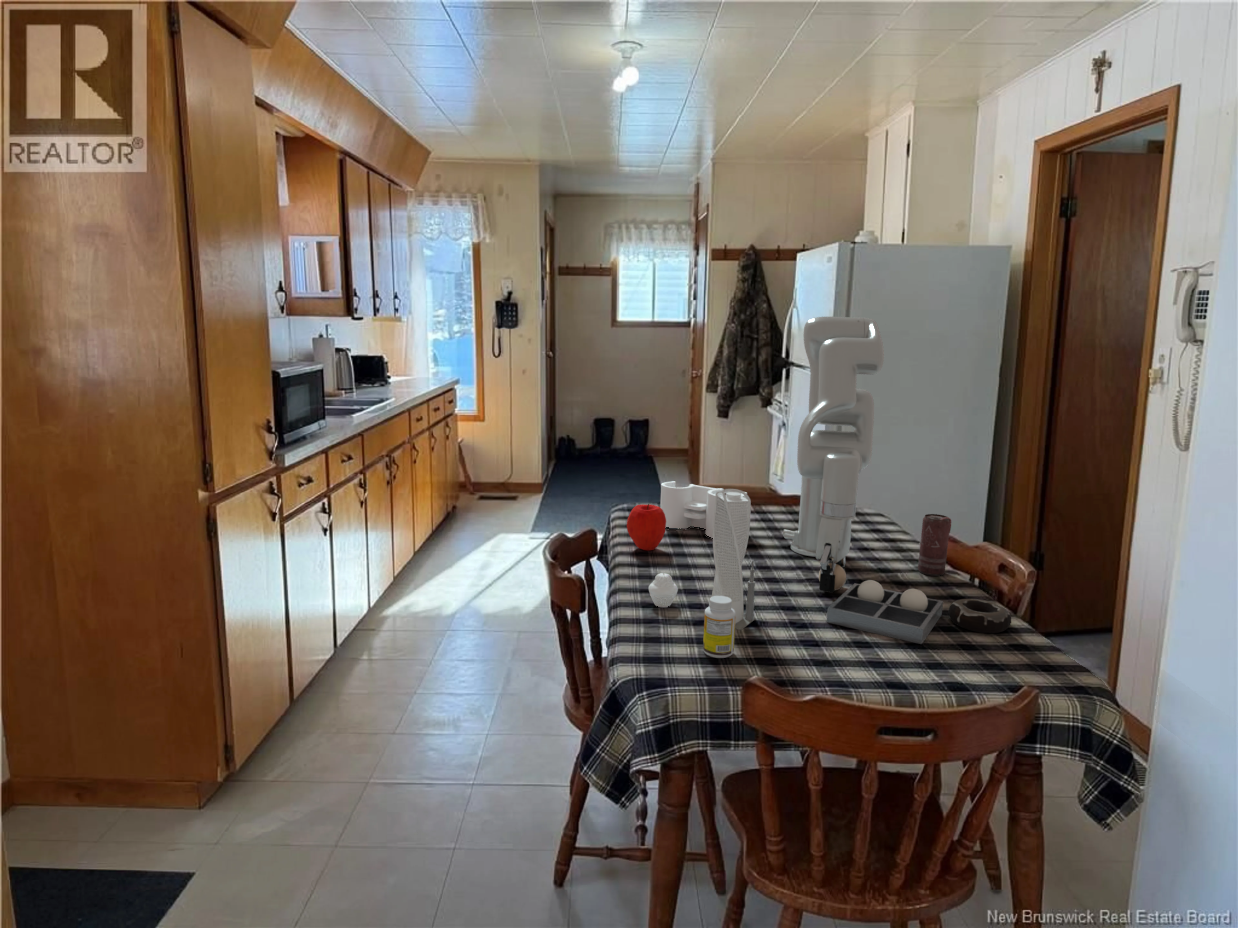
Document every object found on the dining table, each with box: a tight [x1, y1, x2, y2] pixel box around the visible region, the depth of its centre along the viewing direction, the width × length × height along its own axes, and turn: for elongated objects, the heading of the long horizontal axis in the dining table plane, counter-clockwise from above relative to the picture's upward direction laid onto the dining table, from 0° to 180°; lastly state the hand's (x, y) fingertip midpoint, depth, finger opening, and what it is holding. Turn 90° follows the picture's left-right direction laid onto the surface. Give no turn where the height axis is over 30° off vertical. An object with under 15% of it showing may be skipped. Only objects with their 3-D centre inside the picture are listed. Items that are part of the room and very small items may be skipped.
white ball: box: [900, 588, 928, 612], centre depth 166 cm, size 5×5×5 cm
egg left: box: [857, 579, 884, 602], centre depth 171 cm, size 5×5×5 cm
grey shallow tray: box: [826, 582, 944, 645], centre depth 165 cm, size 18×18×3 cm
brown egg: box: [818, 563, 847, 591], centre depth 181 cm, size 6×6×6 cm
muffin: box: [648, 572, 679, 608], centre depth 169 cm, size 6×6×7 cm
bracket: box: [659, 480, 748, 539], centre depth 226 cm, size 25×10×12 cm, turn 57°
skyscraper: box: [711, 488, 756, 631], centre depth 159 cm, size 8×8×28 cm
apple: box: [626, 503, 666, 551], centre depth 207 cm, size 10×10×12 cm
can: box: [917, 513, 952, 577], centre depth 194 cm, size 6×6×14 cm
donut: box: [947, 598, 1012, 634], centre depth 163 cm, size 12×12×4 cm
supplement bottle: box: [702, 596, 736, 659], centre depth 146 cm, size 6×6×10 cm
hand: (831, 586), depth 181 cm, fingers open, 6 cm apart
